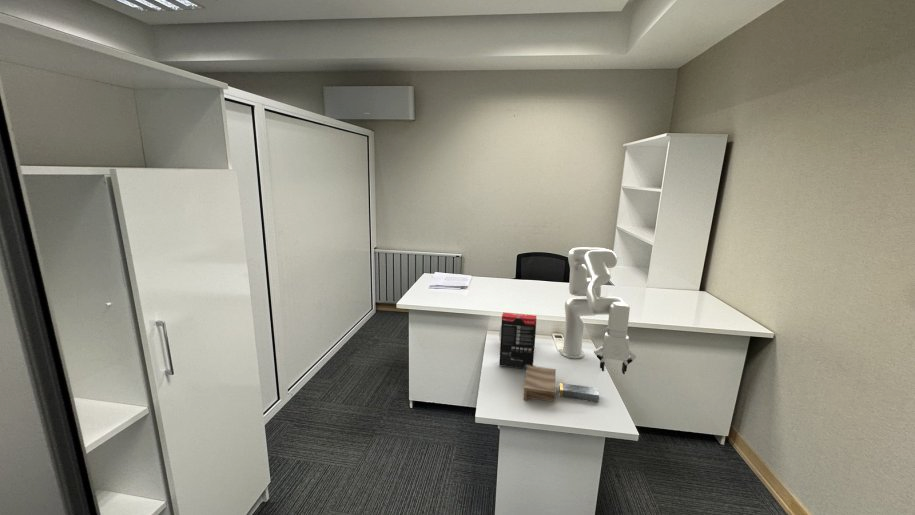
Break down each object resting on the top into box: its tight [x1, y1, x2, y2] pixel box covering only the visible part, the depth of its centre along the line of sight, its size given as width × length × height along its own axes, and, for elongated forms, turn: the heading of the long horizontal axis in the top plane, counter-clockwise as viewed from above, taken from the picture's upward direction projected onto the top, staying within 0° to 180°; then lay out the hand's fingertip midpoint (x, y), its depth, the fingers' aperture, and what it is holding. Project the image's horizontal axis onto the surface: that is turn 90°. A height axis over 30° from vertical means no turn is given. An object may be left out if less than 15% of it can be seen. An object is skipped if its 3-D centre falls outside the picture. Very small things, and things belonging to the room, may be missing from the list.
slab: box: [558, 382, 600, 403], centre depth 163 cm, size 16×6×4 cm, turn 77°
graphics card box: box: [498, 312, 537, 370], centre depth 187 cm, size 17×7×27 cm, turn 79°
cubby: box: [523, 365, 557, 402], centre depth 167 cm, size 20×13×6 cm, turn 165°
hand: (612, 370), depth 158 cm, fingers open, 7 cm apart
